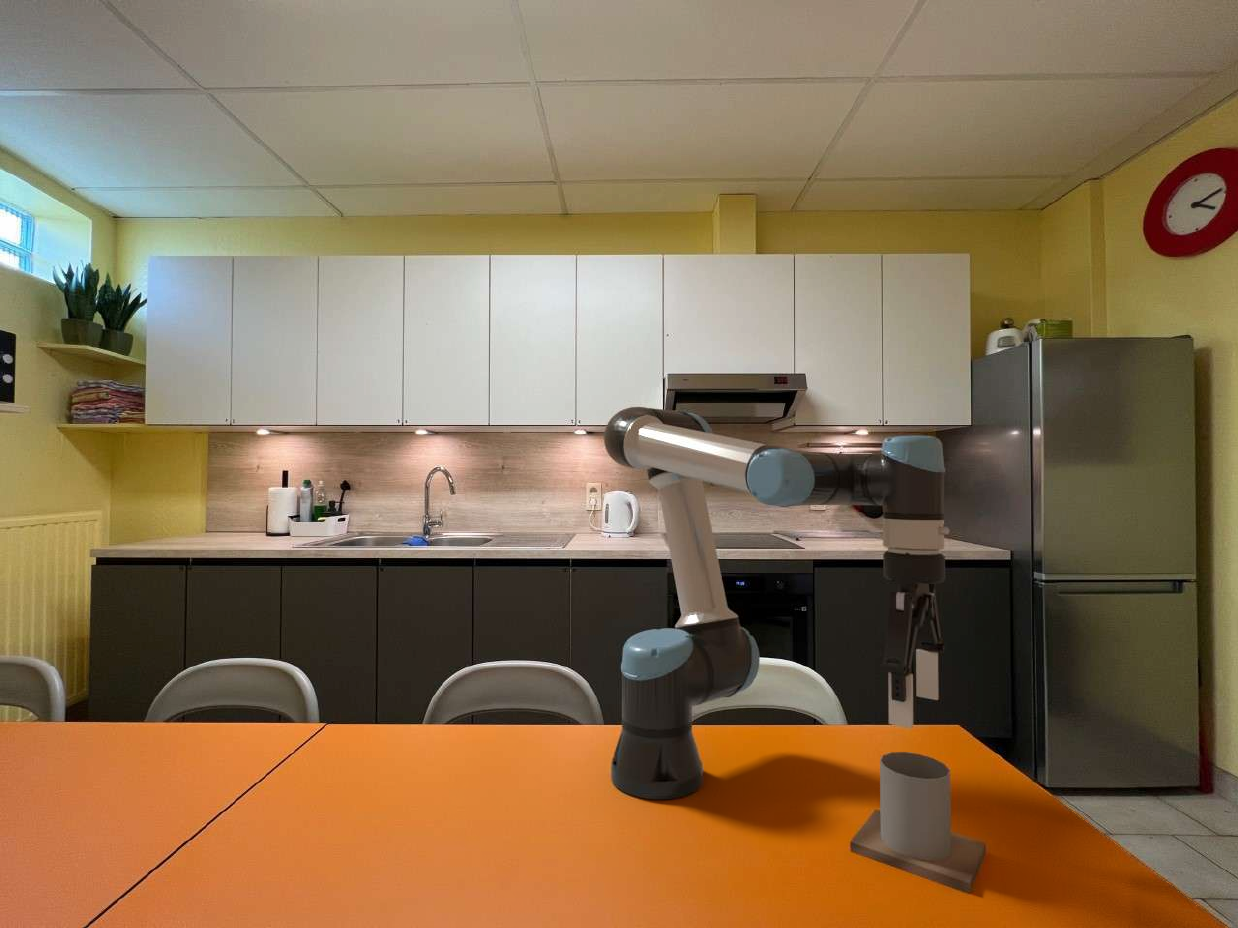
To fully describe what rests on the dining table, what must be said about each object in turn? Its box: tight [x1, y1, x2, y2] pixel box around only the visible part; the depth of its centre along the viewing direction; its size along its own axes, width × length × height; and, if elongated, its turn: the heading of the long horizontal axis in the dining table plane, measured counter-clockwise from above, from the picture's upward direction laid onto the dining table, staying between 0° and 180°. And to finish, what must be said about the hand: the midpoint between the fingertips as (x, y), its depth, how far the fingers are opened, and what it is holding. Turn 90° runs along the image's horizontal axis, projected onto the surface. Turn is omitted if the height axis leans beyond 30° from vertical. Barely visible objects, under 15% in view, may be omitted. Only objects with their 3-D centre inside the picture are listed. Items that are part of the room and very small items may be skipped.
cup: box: [879, 751, 952, 861], centre depth 83 cm, size 8×8×10 cm
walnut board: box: [849, 809, 987, 894], centre depth 83 cm, size 14×11×1 cm
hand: (915, 710), depth 84 cm, fingers open, 13 cm apart
